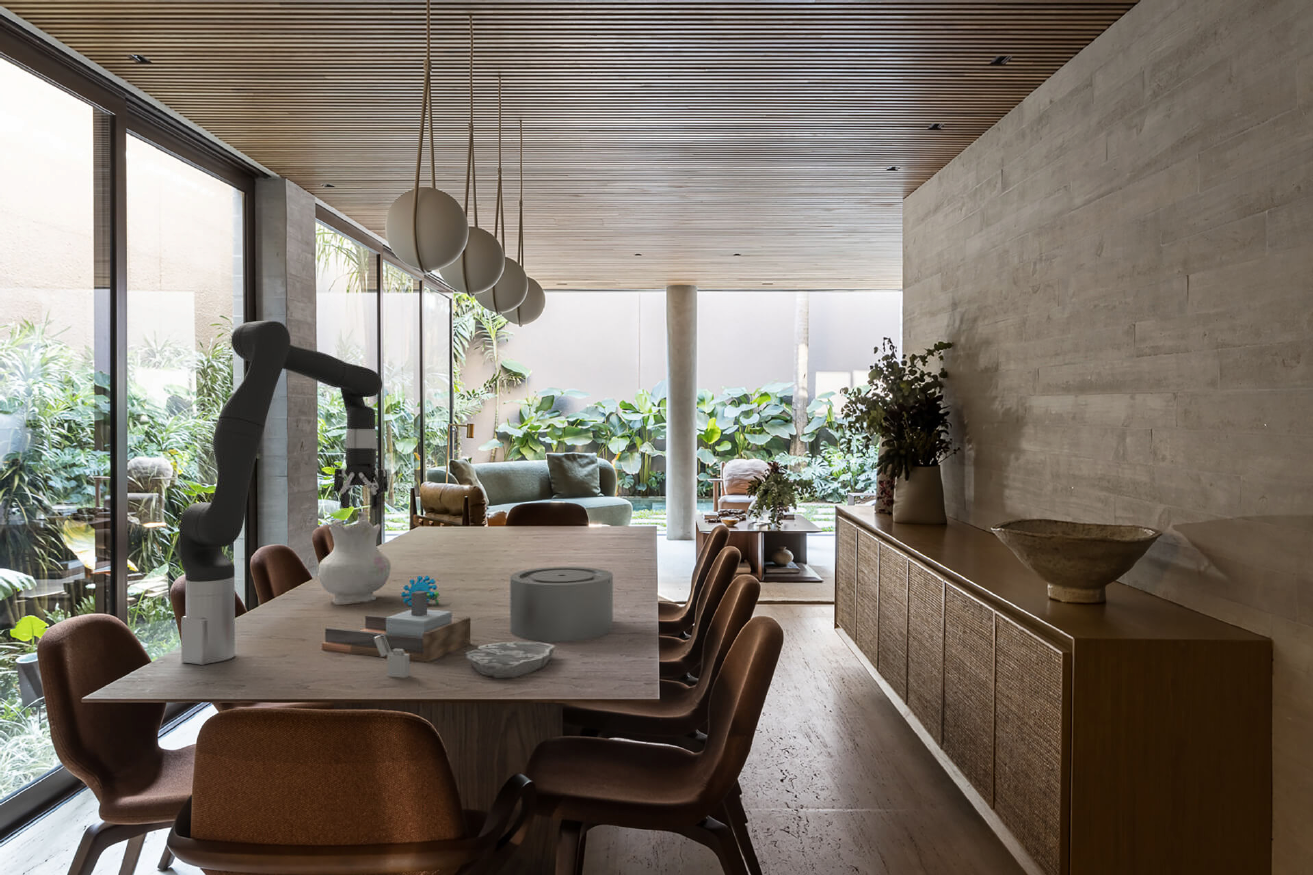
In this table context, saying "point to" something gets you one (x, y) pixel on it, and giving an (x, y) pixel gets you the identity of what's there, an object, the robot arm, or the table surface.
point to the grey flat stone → (510, 658)
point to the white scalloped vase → (354, 563)
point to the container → (561, 604)
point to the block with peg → (417, 618)
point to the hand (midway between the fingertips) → (360, 508)
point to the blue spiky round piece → (421, 589)
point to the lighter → (393, 658)
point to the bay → (399, 639)
